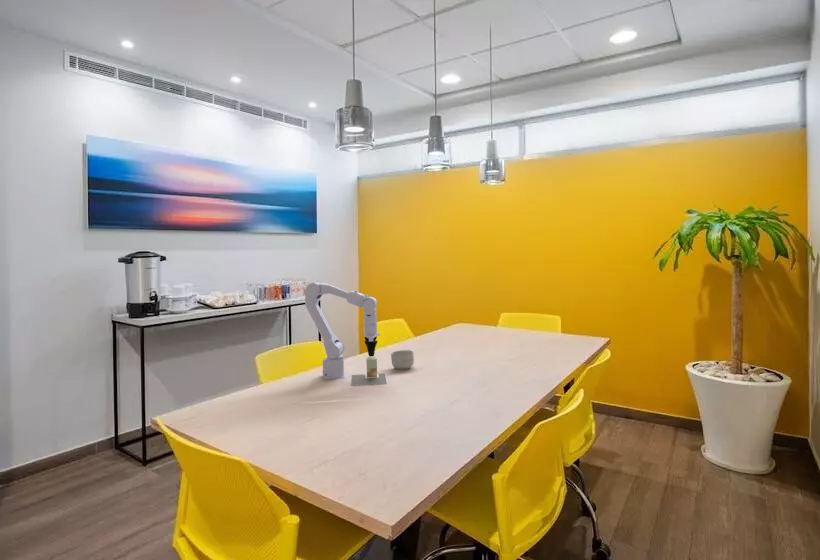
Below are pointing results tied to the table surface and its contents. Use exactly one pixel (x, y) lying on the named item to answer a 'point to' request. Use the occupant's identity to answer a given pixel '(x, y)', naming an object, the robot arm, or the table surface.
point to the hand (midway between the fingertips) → (371, 354)
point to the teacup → (402, 359)
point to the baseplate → (368, 380)
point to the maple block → (372, 372)
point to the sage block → (371, 362)
